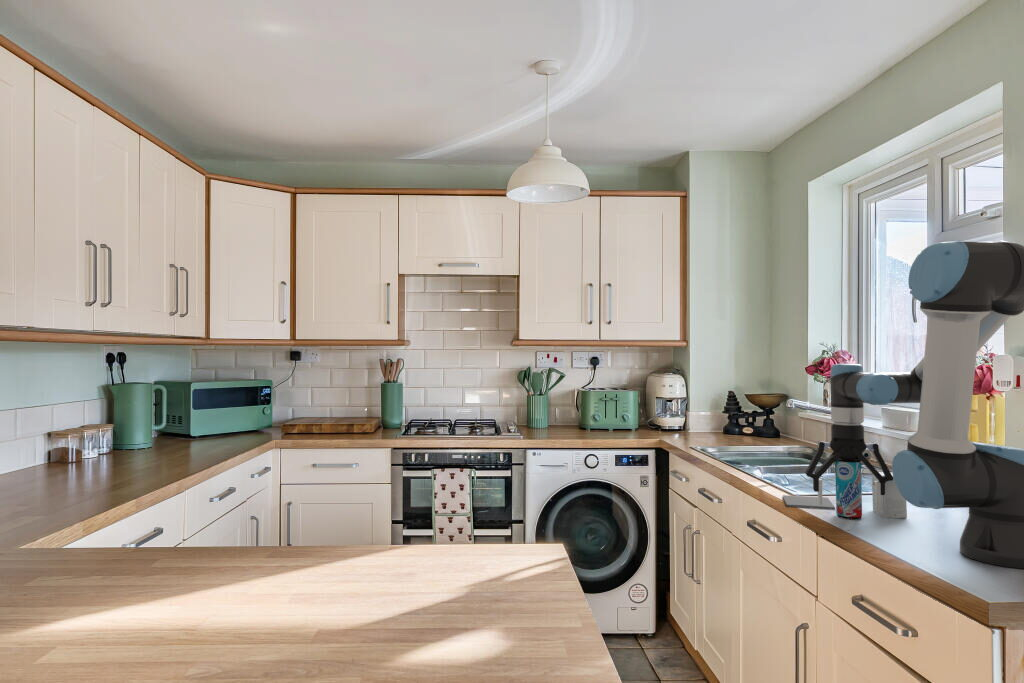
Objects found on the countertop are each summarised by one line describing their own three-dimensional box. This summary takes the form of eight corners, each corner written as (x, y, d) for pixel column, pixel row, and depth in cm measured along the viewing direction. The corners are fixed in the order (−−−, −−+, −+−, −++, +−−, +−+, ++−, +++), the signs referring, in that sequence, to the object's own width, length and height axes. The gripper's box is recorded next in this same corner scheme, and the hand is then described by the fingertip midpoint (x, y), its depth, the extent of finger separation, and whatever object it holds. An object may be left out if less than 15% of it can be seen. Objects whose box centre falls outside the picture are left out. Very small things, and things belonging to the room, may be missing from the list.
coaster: (835, 509, 173) (835, 507, 173) (787, 506, 177) (787, 504, 177) (827, 499, 184) (827, 497, 184) (782, 497, 188) (782, 495, 188)
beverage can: (832, 517, 165) (831, 459, 165) (841, 513, 169) (840, 456, 169) (856, 521, 161) (855, 461, 161) (865, 517, 164) (864, 459, 165)
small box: (907, 518, 163) (906, 477, 163) (883, 518, 164) (882, 476, 164) (895, 511, 171) (894, 471, 171) (872, 510, 172) (871, 471, 172)
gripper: (897, 423, 165) (899, 505, 165) (793, 420, 173) (794, 499, 172) (906, 426, 158) (907, 512, 158) (796, 423, 165) (798, 506, 165)
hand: (848, 506), depth 165 cm, fingers open, 13 cm apart
